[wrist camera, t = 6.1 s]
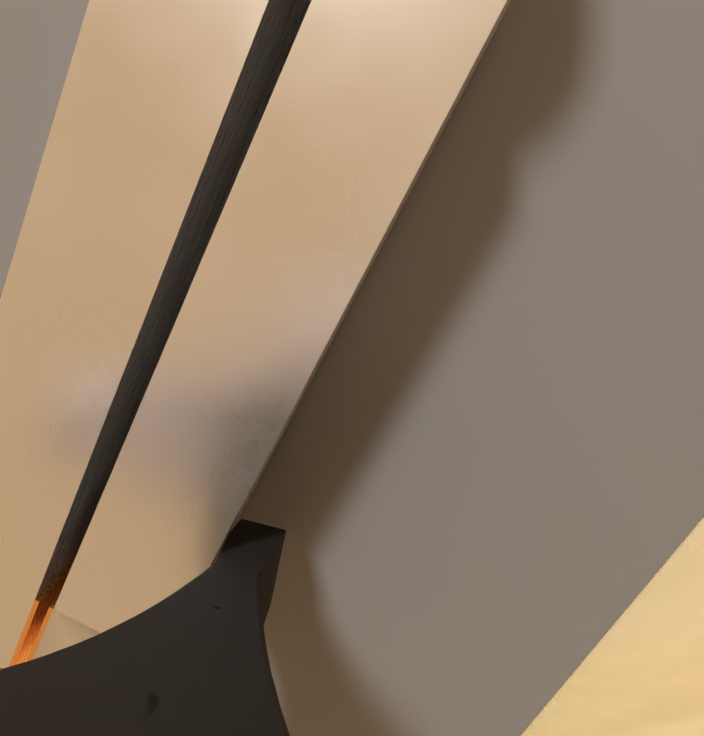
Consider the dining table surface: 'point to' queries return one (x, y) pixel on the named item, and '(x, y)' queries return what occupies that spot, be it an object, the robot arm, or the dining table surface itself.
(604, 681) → the dining table surface
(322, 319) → the bar
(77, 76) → the tongs fixed
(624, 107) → the cutting board
